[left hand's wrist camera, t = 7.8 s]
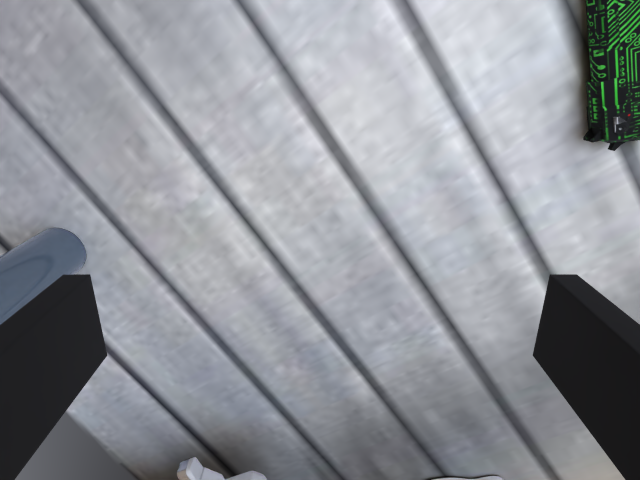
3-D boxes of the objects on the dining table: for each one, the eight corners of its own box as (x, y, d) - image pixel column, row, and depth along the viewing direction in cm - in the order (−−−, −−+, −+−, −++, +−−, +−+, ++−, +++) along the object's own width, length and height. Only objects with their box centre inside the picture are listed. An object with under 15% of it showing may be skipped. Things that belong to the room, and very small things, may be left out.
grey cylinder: (25, 251, 42) (-150, 359, 27) (53, 217, 41) (-114, 309, 25) (68, 283, 44) (-76, 404, 28) (96, 251, 42) (-37, 359, 27)
